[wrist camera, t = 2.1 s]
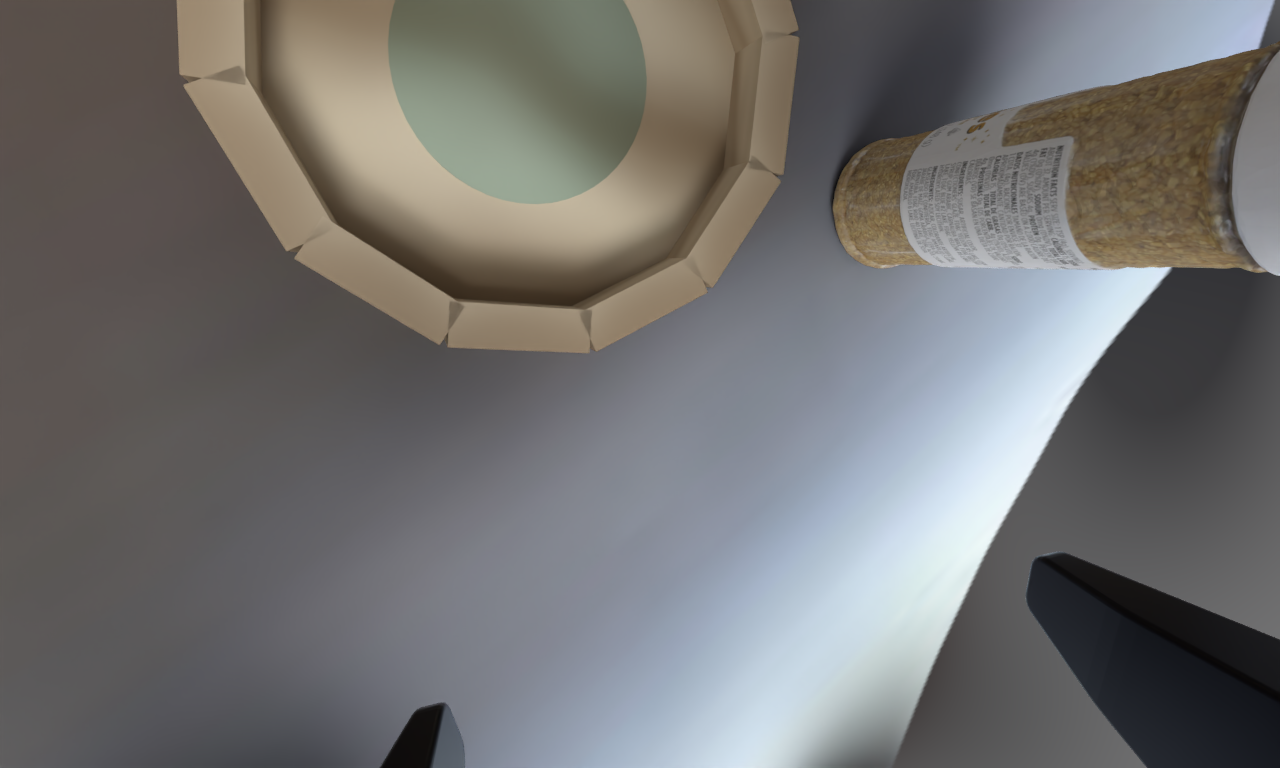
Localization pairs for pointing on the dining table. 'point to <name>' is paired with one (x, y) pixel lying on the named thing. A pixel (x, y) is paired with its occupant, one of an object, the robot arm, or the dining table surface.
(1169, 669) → the robot arm
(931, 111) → the dining table surface
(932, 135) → the sprinkles bottle
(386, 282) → the tray
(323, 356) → the dining table surface
